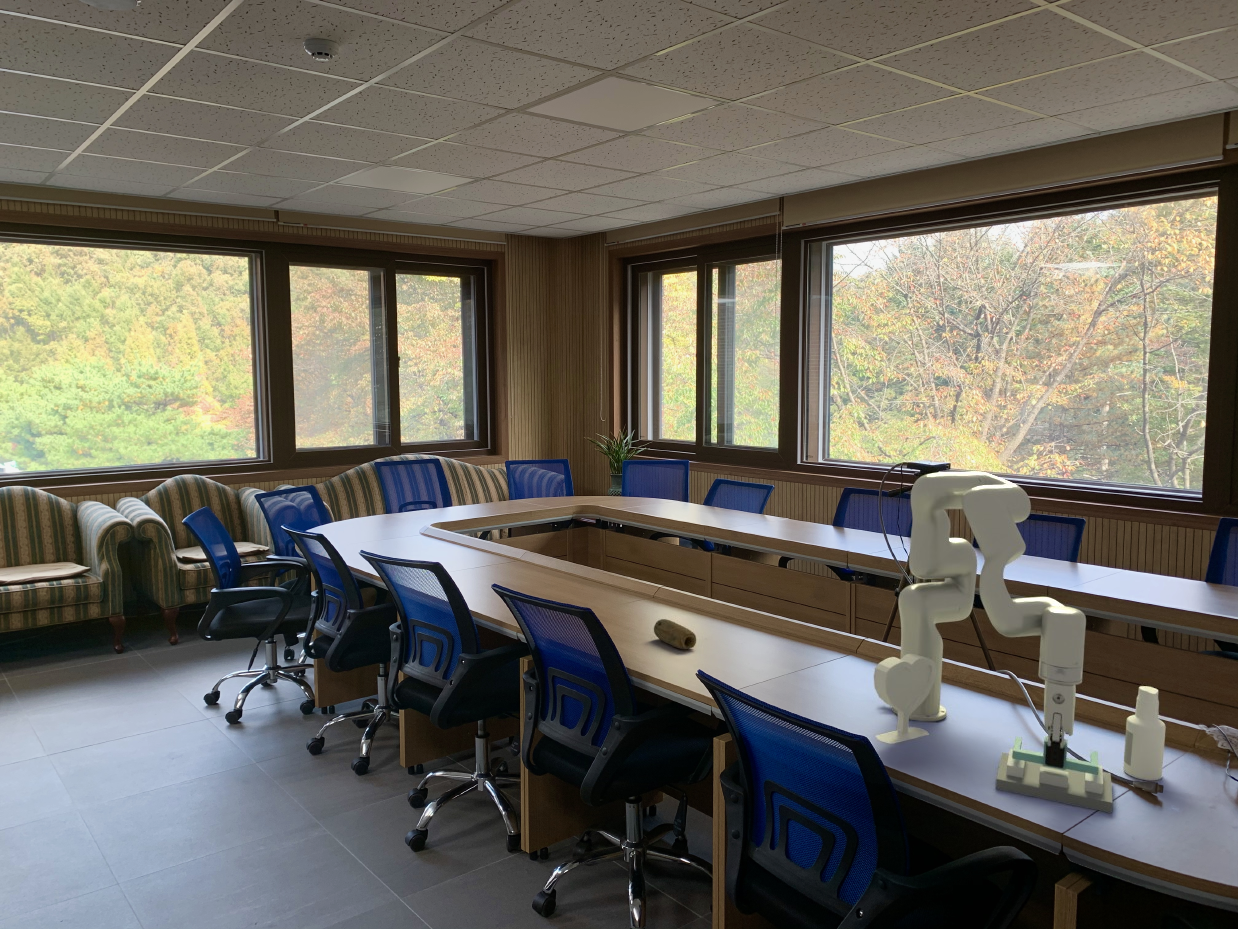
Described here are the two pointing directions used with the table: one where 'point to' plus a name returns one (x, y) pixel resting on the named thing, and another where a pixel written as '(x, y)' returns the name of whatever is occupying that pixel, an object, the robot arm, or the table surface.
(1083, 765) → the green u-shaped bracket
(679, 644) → the stone weight
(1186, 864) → the table surface
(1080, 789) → the stand
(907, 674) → the heart sculpture
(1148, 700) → the white bottle
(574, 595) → the table surface
